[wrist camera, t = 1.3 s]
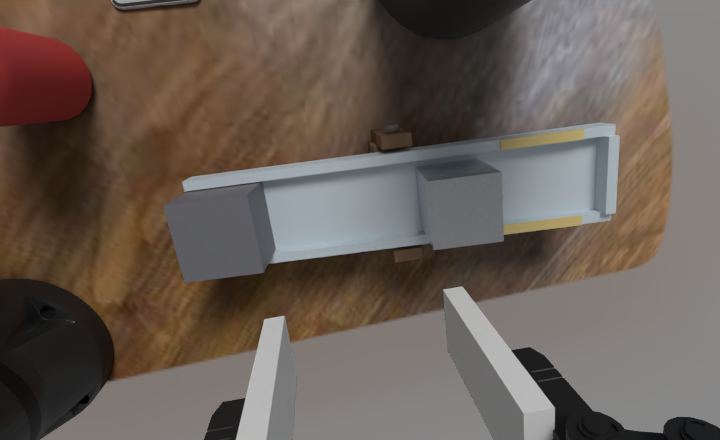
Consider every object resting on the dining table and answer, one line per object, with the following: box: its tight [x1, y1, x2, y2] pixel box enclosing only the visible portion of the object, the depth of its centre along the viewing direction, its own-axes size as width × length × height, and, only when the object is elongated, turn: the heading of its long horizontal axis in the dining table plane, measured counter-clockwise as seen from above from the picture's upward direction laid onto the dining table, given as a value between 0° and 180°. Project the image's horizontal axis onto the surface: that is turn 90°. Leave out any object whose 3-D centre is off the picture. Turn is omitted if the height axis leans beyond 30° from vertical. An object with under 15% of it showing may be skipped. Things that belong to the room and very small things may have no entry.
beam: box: [163, 123, 620, 283], centre depth 33 cm, size 34×8×6 cm, turn 97°
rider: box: [415, 158, 504, 250], centre depth 32 cm, size 5×5×6 cm
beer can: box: [0, 27, 92, 127], centre depth 29 cm, size 7×7×12 cm
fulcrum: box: [368, 124, 423, 263], centre depth 37 cm, size 3×12×6 cm, turn 7°
